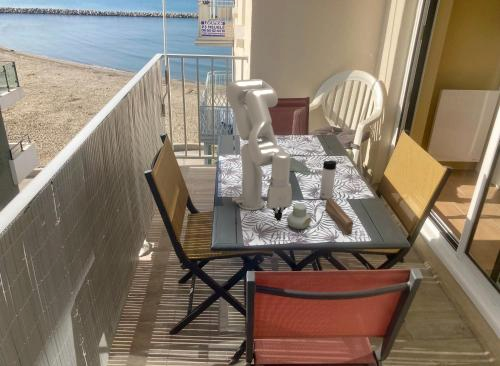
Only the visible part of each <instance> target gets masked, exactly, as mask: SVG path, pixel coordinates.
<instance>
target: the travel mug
mask: <svg viewBox="0 0 500 366" xmlns="http://www.w3.org/2000/svg"><path fill="white" fill-rule="evenodd" d="M322 163H323V165H322V173H321V179H320V181H321V183H320V191H319V199H321V200H324V201H326V199H331V198H333V195H334V194H333V193H334V192H333V191H334V188H335V187H334V186H335V185H334V184H335V178H336V171H337V161H335V160H325V161H324V160H323V162H322Z"/></svg>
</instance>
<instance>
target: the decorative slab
mask: <svg viewBox="0 0 500 366" xmlns="http://www.w3.org/2000/svg"><path fill="white" fill-rule="evenodd" d="M290 173H298V174H300V175H302V176H303V175H304V176H310V175H315V173H314V172H312V171H311V170H310V169H309V167H308V166H307V165H306V164H304V163H303V162H301V161H299V160H298V159H296V158H295V157H291V160H290Z"/></svg>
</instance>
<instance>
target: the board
mask: <svg viewBox="0 0 500 366" xmlns="http://www.w3.org/2000/svg"><path fill="white" fill-rule="evenodd" d="M325 201H326V202H325V212H326V213H327V214H328V215H329V216H330V218H331V219H332V220H333V221H334V223H335V224H336V225H337V226H338V228H340V230H341V231H342V232H343V233H344V235H352V234H353V233H352V232H353V227H354V226H353V225H354V221H353V220H352V219H351V217H350V216H349V215H348V214H347V213H346V211H344V209H343V208H342V207H341V206H340V205H339V204H338V203H337V202H336V201H335V199H334V198H333V197H332V198H331V199H326V200H325Z"/></svg>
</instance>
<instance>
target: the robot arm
mask: <svg viewBox="0 0 500 366" xmlns="http://www.w3.org/2000/svg"><path fill="white" fill-rule="evenodd" d="M226 98H227V101H228V104H229V106H230V108H231V110H232V112H233V115H234V118H235V123H236V127H237V131H238V134H239V138H240V139H241V140H242V141H248V143H246V144H244V145H243V146H241V149H240V160H241V166H242V169H241V172H242V173H241V175H242V176H241V177H242V178H241V194H240V195H239V196H237V197H236V196H235V197H231V200H232V202H235V204H238V206H239V207H240V208H242V209H244V210H247V211H258V210H262V209H263V208H264V207H265V201H264V199H262V197H263V196H262V195H263V194H262V192H263V169H262V168H261V167H266V166H271V176H270V178H269V179H267V183H269V185H268V189H267V192H266V193H267V194H266V195H267V196H266V209H268V210H272V211H273V213H274V215H273V216H274V217H273V218H274V219H275V220H276V222H281V220H282V218H283V213H284V211H285V210H286V209H287V208H290V207H291V206H292V203H293V196H292V195H293V193H292V184H291V183H290V173H291V172H290V160H291V158H292V157H291V154H290V153H288V152H286V151H285V149H283V148H282V147H281V146H280V145H277V141H276V137H275V136H276V135H275V133H274V129H273V125H272V121H273V120H272V117H271V114H270V110H269V108H274V107H276V106H277V104H278V103H279V102H278V101H279V97H278V94H277V91H276V90H275V89H274V87H272V86H271V85H270V84H268V83H267V82H266V81H265V80H263V79H261V78H254V79H253V78H252V79H251V78H250V79H239V80H234V81H232V82H230V83H228V85H227V87H226ZM258 140H260V141H258Z"/></svg>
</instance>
